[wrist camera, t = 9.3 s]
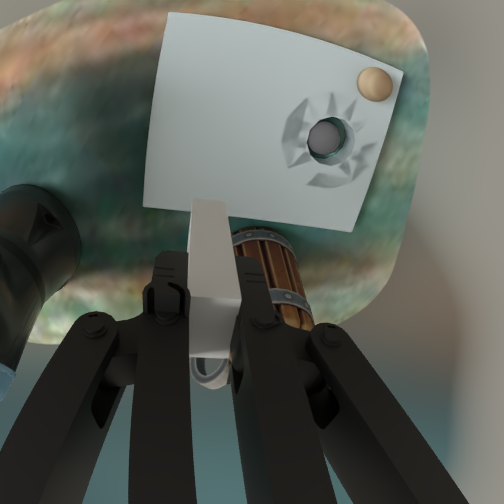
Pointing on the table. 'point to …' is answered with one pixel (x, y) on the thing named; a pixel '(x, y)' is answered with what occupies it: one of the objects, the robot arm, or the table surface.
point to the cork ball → (374, 84)
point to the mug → (279, 284)
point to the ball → (323, 138)
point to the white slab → (260, 123)
